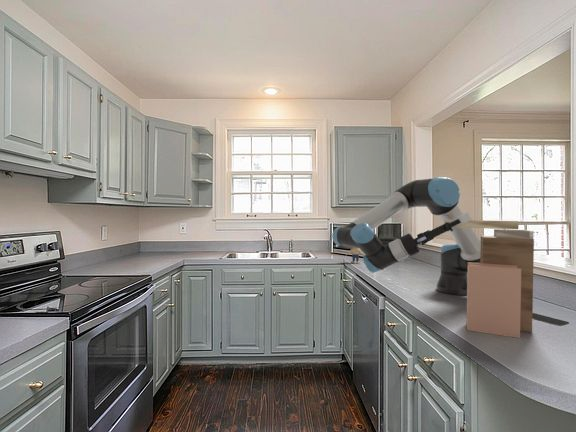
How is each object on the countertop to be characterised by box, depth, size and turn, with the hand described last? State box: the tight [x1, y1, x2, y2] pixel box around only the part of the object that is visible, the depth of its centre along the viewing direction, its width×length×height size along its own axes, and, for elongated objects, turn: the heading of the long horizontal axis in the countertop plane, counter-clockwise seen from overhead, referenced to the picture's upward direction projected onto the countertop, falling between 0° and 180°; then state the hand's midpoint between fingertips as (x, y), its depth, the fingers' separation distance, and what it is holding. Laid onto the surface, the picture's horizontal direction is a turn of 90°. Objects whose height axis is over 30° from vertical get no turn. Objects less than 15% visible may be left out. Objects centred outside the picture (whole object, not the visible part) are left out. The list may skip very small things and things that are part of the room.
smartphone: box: [532, 312, 570, 327], centre depth 117 cm, size 7×1×15 cm
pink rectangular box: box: [466, 262, 521, 339], centre depth 104 cm, size 7×14×21 cm, turn 63°
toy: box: [345, 247, 365, 264], centre depth 243 cm, size 15×7×18 cm, turn 79°
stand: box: [480, 229, 535, 333], centre depth 110 cm, size 9×14×32 cm, turn 63°
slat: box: [445, 219, 519, 230], centre depth 106 cm, size 4×20×2 cm, turn 63°
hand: (469, 215), depth 107 cm, fingers closed on slat, 4 cm apart
